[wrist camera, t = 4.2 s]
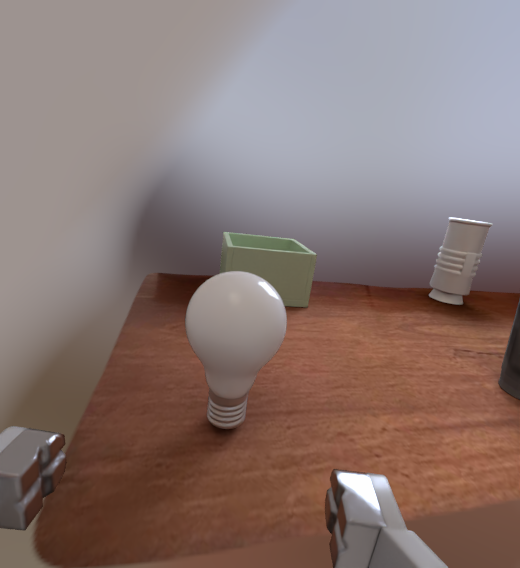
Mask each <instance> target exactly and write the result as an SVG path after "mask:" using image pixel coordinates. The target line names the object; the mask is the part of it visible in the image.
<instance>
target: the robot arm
mask: <svg viewBox="0 0 520 568" xmlns="http://www.w3.org/2000/svg"><path fill="white" fill-rule="evenodd" d="M64 445H65V436H64V435H63V434H61V433H55V432H49V431H43V430H37V429H30V428H22V427H16V426H12V427H9V428H7V429H5V430H4V431H3V432H2V433H1V434H0V528H6V529H15V530H26V529H27V527H28V526H29V524H30V523H31V522H32V520H33V519H34V518H35V516H36V515H37V514H38V512H39V511H40V509H41V508H42V507H43V498H44V497H45V496H47V495H49V494H50V493H52V492H54V490H55V489H56V487H57V486H58V484H59V483H60V481H61V479H62V477H63V474H64V472H65V468H66V463H67V462H66V455H65V454H64V453H63V451H62V450H61V449H62V448H63V446H64ZM330 481H331V488H330V489H328V490H327V494H326V499H325V519H326V526H327V529H328V530H329V531H330V533H331V534H332V536H331V540H330V551H331V557H332V563H333V568H448V567H447V566H446V565H445V564H444V563H443V562H442V561H441V559H439V557H437V556H436V554H435V553H434V552H433V551H432V550H431V549H430V548H429V547H428V546H427V545H426V544H425V543H424V542H423V541H422V540H421V539H420V538H419V537H418V536H417V535H416V534H415V533H414V532H413V531H409V530H407V528H406V525H405V523H404V520H403V518H402V515H401V513H400V510H399V508H398V505H397V503H396V500H395V498H394V495H393V493H392V490H391V488H390V485H389V483H388V480H387V478H386V477H385V476H384V475H380V474H371V473H363V472H355V471H347V470H338V469H333V471H332V473H331V477H330Z"/></svg>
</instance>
